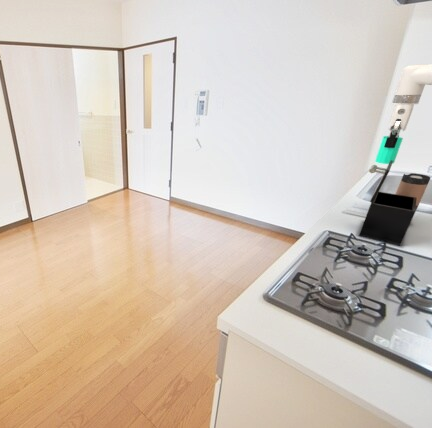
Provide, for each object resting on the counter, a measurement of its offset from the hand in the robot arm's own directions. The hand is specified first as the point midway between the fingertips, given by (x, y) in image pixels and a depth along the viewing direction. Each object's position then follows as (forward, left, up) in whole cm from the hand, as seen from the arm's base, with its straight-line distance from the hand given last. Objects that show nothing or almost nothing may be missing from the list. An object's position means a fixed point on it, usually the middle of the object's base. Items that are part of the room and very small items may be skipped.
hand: (390, 145), depth 117 cm
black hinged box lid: (+6, +23, -9) cm, 25 cm away
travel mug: (-8, +10, -30) cm, 32 cm away
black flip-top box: (+1, +24, -29) cm, 38 cm away
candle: (0, 0, -7) cm, 7 cm away
